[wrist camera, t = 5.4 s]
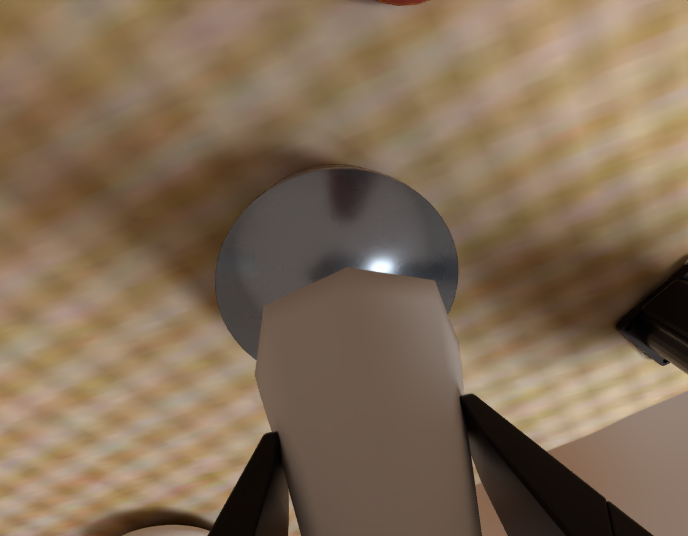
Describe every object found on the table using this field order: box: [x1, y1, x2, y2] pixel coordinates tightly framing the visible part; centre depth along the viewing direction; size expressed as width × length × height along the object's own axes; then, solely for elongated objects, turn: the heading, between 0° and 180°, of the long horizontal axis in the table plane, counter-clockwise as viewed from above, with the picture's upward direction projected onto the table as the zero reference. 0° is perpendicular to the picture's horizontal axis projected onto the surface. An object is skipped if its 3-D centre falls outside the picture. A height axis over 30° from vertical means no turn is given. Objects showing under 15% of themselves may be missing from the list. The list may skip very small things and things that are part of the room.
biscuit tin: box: [215, 164, 458, 360], centre depth 17 cm, size 11×11×4 cm
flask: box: [255, 267, 482, 536], centre depth 7 cm, size 7×7×10 cm
